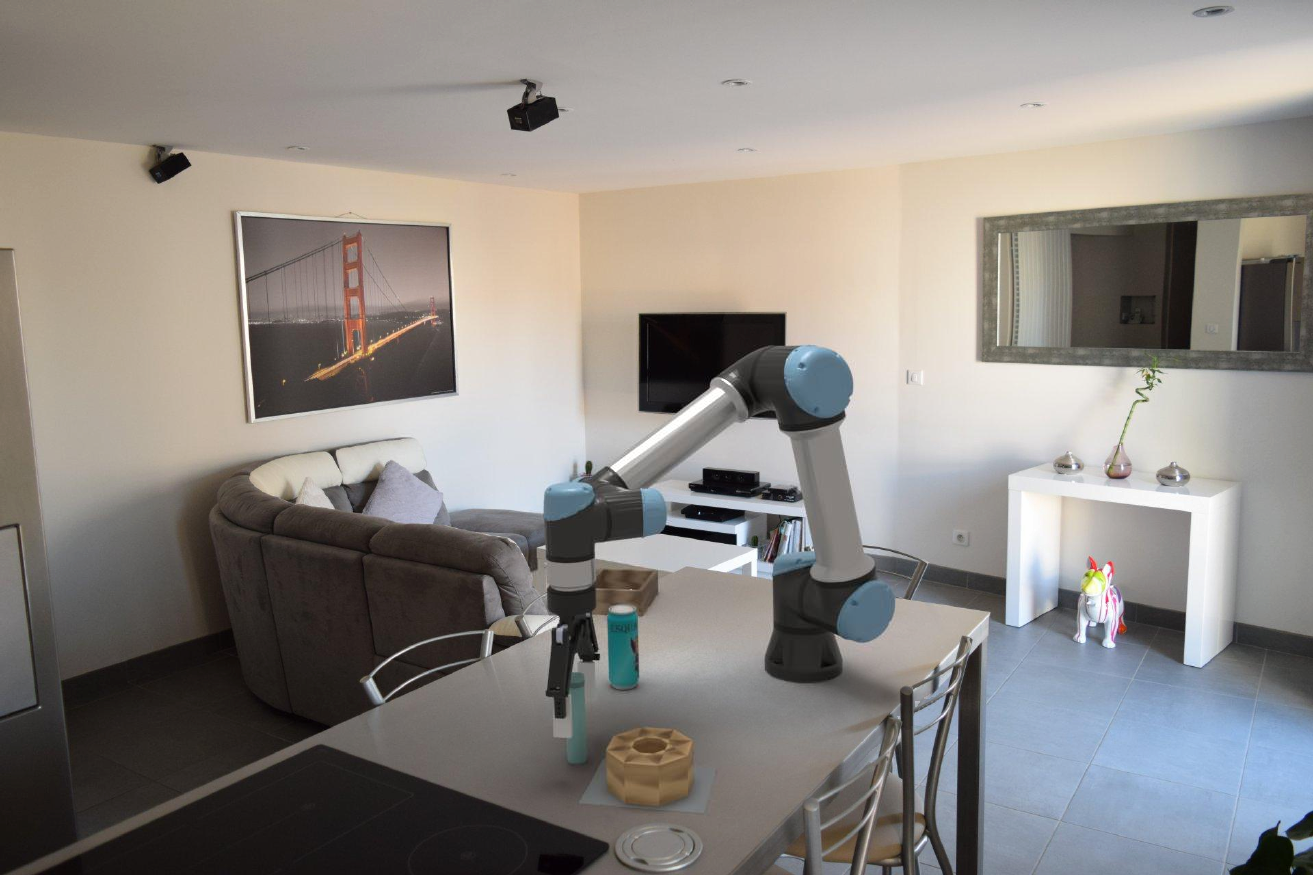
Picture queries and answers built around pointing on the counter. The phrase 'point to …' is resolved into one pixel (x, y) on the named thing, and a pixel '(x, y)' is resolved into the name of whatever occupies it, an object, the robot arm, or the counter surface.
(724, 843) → the counter surface
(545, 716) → the counter surface
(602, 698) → the counter surface
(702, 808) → the slate mat
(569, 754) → the teal capped bottle
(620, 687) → the beverage can
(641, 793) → the wooden bead
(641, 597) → the open wooden box
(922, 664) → the counter surface
